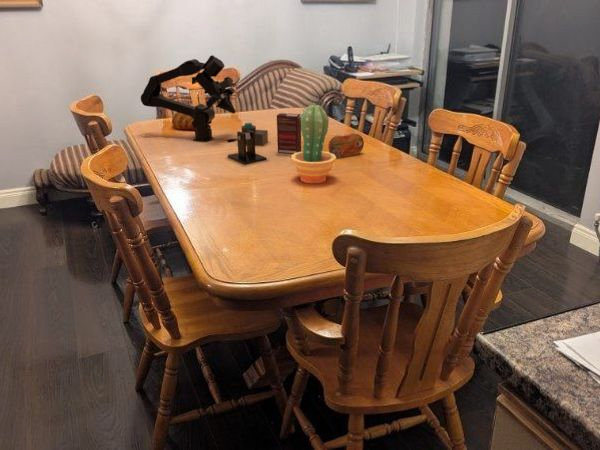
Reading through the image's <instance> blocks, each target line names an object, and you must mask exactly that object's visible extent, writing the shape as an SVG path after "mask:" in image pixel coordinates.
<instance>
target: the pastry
mask: <svg viewBox="0 0 600 450" xmlns="http://www.w3.org/2000/svg"><path fill="white" fill-rule="evenodd" d="M193 121H194V119H193V118H192V117H191V116H188V115H185V114H182V113H178V112H175V113H174V114H173V116H172V117H171V124H172V126H173V127H174V128H175V129H176V130H195V128H194V127H193V125H192V122H193Z"/></svg>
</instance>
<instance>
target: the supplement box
mask: <svg viewBox="0 0 600 450" xmlns="http://www.w3.org/2000/svg"><path fill="white" fill-rule="evenodd" d="M300 115H301V113H291V112H289V113H287V112H279V113H278V114H276V138H277V141H276V142H277V155H278V156H279V155H280V156H289V157H291V155H293V154H295V153H297V152H302V131H301V117H299V116H300Z"/></svg>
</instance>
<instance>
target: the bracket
mask: <svg viewBox="0 0 600 450" xmlns="http://www.w3.org/2000/svg"><path fill="white" fill-rule="evenodd" d="M249 132H250V137H251V139H248V140H247V145H246V134H245V133H242V131H236V135H237V136H236V138H237V139H238V141H237V153H231V154H227V159H229V160H232V161H234V162H237V163H238V164H241V165H244V166H247V165H251V164H254V163H260V162H263V161H267V160H268V158H267V157H266V156H264V155H262V154H261V155H260V154H258V153H256V146H255V132H253V131H250V130H246V133H249Z"/></svg>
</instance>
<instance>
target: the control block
mask: <svg viewBox="0 0 600 450" xmlns="http://www.w3.org/2000/svg"><path fill="white" fill-rule="evenodd" d="M240 130H241V132H242V133H246V130H250V131H253V132H255V147H256V146H257V147H264V146H265V145H266V144H267V143H269V132H268V130H266V129H257V127H256V125H253V124H252V127H251V128H246V127H245V124H244V125H242V126H241V129H240ZM246 146H247V140H246Z"/></svg>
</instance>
